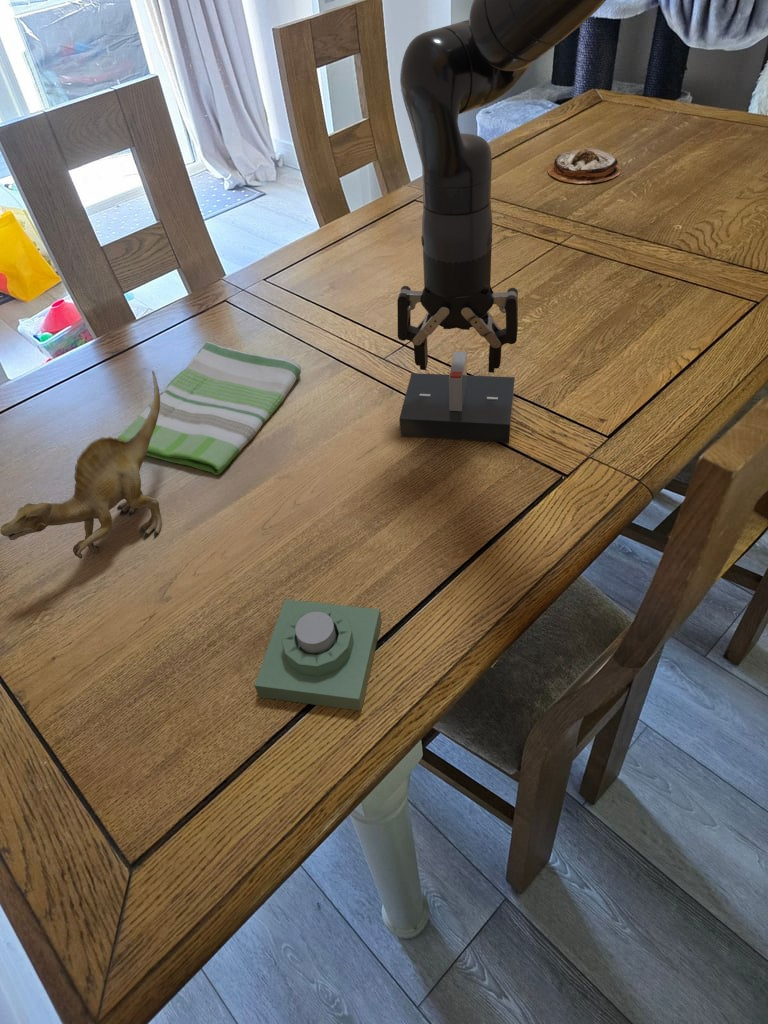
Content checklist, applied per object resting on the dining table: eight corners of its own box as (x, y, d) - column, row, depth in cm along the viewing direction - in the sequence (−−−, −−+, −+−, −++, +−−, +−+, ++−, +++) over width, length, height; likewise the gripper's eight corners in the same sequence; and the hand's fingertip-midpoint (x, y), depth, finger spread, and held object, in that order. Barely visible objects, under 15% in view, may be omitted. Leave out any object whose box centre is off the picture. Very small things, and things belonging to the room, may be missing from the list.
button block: (381, 621, 71) (378, 598, 68) (361, 711, 64) (356, 689, 61) (288, 611, 73) (281, 588, 70) (259, 697, 66) (249, 675, 63)
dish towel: (306, 375, 102) (302, 355, 100) (225, 478, 88) (218, 457, 85) (208, 358, 108) (201, 338, 105) (116, 452, 93) (107, 431, 91)
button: (339, 624, 67) (337, 613, 65) (331, 656, 64) (328, 645, 63) (303, 620, 67) (300, 609, 66) (293, 651, 65) (290, 641, 64)
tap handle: (454, 383, 93) (454, 349, 89) (466, 383, 92) (466, 349, 89) (449, 411, 89) (448, 377, 85) (461, 411, 88) (461, 377, 85)
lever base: (513, 395, 95) (514, 376, 93) (509, 442, 88) (510, 423, 86) (412, 390, 97) (411, 372, 95) (400, 436, 91) (399, 417, 88)
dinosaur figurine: (38, 591, 77) (-22, 508, 68) (179, 444, 93) (147, 360, 84) (91, 611, 75) (36, 528, 65) (226, 457, 91) (199, 372, 81)
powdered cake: (605, 153, 152) (607, 132, 149) (632, 178, 141) (636, 156, 138) (539, 162, 151) (540, 142, 148) (561, 188, 140) (564, 167, 137)
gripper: (525, 228, 77) (516, 353, 89) (398, 227, 80) (406, 349, 91) (521, 260, 72) (513, 388, 84) (386, 258, 75) (396, 383, 86)
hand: (457, 367), depth 87 cm, fingers open, 8 cm apart
